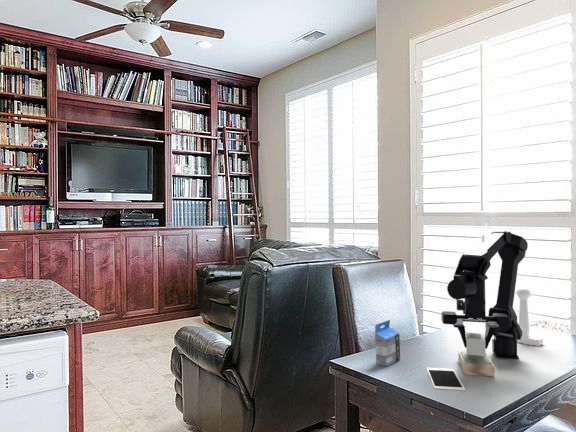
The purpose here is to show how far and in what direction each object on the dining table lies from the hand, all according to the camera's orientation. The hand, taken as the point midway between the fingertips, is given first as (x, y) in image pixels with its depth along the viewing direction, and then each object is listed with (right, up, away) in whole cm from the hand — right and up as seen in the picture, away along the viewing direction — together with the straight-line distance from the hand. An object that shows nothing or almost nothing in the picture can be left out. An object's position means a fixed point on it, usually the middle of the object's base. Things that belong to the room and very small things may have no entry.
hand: (475, 347), depth 128 cm
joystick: (+30, -6, +27) cm, 41 cm away
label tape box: (-25, -7, +6) cm, 26 cm away
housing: (0, -1, 0) cm, 1 cm away
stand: (0, -6, 0) cm, 6 cm away
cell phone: (-12, -7, -8) cm, 16 cm away
